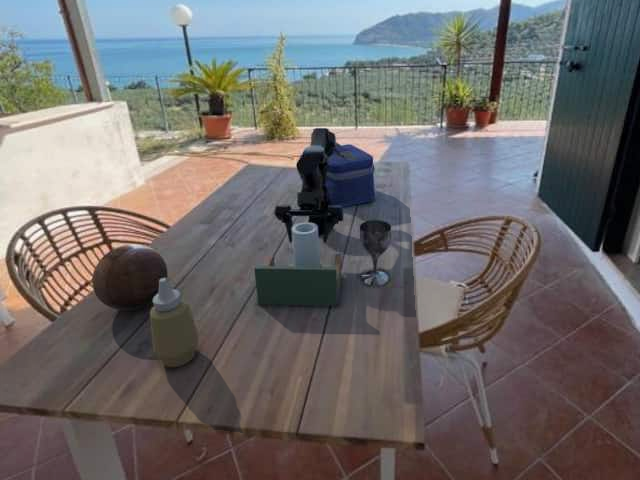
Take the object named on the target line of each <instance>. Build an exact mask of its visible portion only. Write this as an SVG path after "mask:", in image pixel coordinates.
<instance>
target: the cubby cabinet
mask: <svg viewBox="0 0 640 480" xmlns="http://www.w3.org/2000/svg"><path fill="white" fill-rule="evenodd" d="M275 256H276V253H275V252H268V253H267V255H266V257H265V259H264V261H263V263H262V265H255V267H254V277H255V279H254V280H255V287H256V294H257V295H256V296H257V304H258V306H259V305H262V306H265V305H267V306H312V307H313V306H315V307H338V303H339V296H340V290H341V289H340V288H341V282H342V281H341V279H342V257H343V254H342V253H335V255H334V259H333V266H320V267H294V265H293V266H292V265H291V266H289V265H286V266H284V265H276V263H275Z"/></svg>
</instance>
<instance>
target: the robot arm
mask: <svg viewBox="0 0 640 480" xmlns="http://www.w3.org/2000/svg"><path fill="white" fill-rule="evenodd" d="M312 129H313V130H312V131H313V132H312V133H310V144H309V146H307V147H305V148H304V149H303V151H302V153H301V154H300V156H299V158H298V160H297V162H296V166H295V167H296V170H297V173H298V175H299V178H300V180H301V189H300V191H299V192H297V193H296V194H297V195H296V203H297V204H296V205H297V207H298V208H292V207H291V205H290V204H277V205H276V206H275V207H274V212H273V215H274V216H275V218H276V219H277V220H278V221H281V223H283V224H284V225H285V228H286V232H287V237H288V241H289V243H290V244H293V242H292V227H293V226H294V221H293V217H308V221H307V222H309V223H314V224H316V225H317V226H318V236H322V235H323V240H322V241H323V244H326V243H327V240H328V238H329V236H330V234H331V231H332V230H333V228H334V227H335V225H338V224H340V222H343V221H344V219H345V217H344V215H345V214H344V208H343V206H340V205H333V202H332V201H331V198H329V193H328V190H327V187H326V179H327V169H328V163H329V157H330V156H331V155H332V154H333V153H334V147H336V143H337V137H336V134H335V133H334V132H332V131H330V130H329V128H327V127H315V128H312Z"/></svg>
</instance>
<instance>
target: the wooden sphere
mask: <svg viewBox="0 0 640 480" xmlns="http://www.w3.org/2000/svg"><path fill="white" fill-rule="evenodd" d="M161 278H166V279H167V280H168V267H167V263H166V262H165V259H164V258H163V257H162V255H161V254H160V253H159V252H158V251H156V250H155V249H154V248H151V247H150V246H147V245H143V244H138V243H131V244H123V245H121V246H118V247H115V248H113V249H111V250H110V251H108V252H107V253H105V254H104V255H103V256H102V257H101V258H100V260H99V261H98V262H97V264H96V265H95V267H94V269H93V272H92V277H91V282H92V283H91V284H92V289H93V291H94V294H95V296H96V297H97V298H98V300H99V301H100V302H101V303H102V304H104V305H105V306H106V307H109V308H111V309H114V310H118V311H135V310H138V309H141V308H144V307H146V306H148V305H150V304H151V303H153V298H154V297H155V296H156V295H157V294H158V293H159V280H160V279H161Z"/></svg>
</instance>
